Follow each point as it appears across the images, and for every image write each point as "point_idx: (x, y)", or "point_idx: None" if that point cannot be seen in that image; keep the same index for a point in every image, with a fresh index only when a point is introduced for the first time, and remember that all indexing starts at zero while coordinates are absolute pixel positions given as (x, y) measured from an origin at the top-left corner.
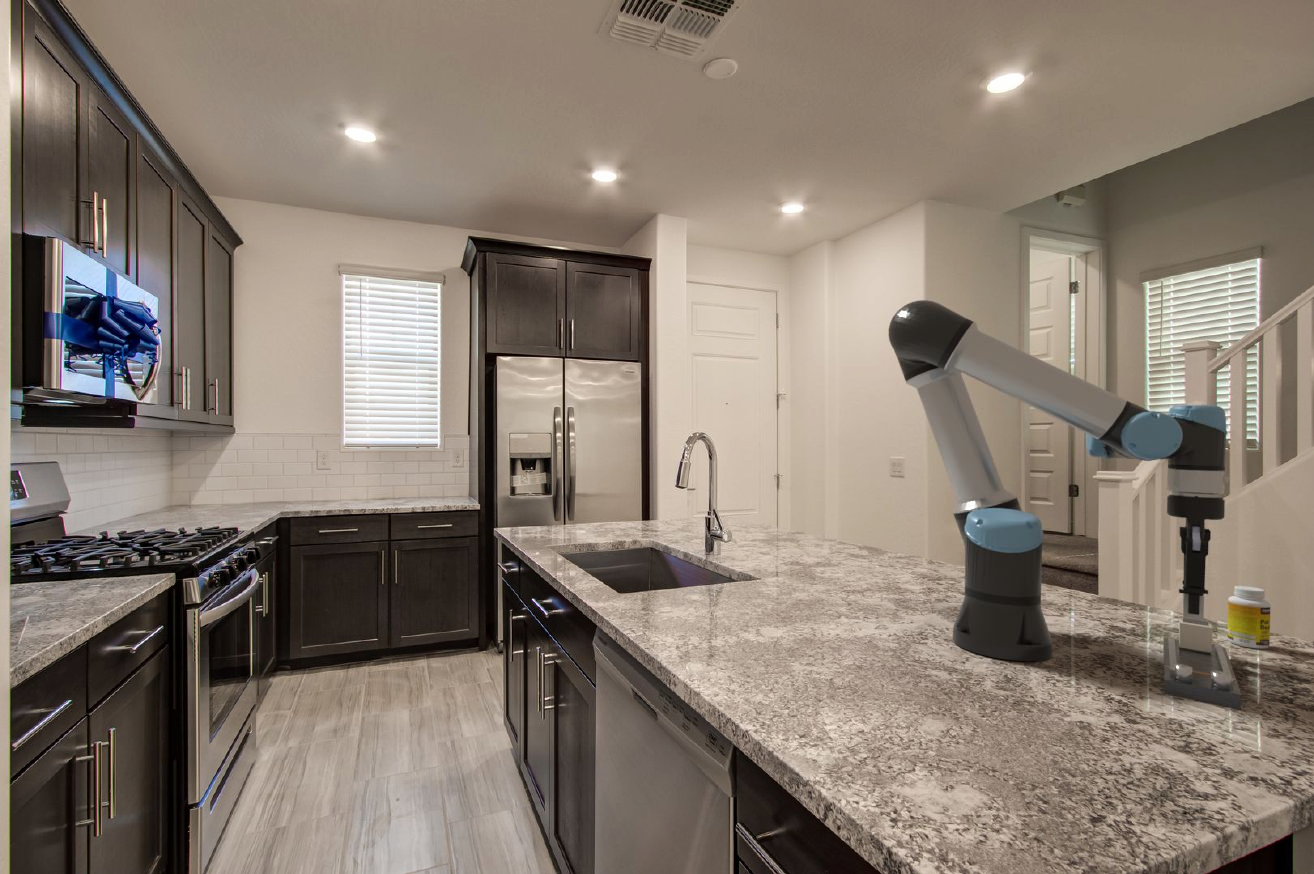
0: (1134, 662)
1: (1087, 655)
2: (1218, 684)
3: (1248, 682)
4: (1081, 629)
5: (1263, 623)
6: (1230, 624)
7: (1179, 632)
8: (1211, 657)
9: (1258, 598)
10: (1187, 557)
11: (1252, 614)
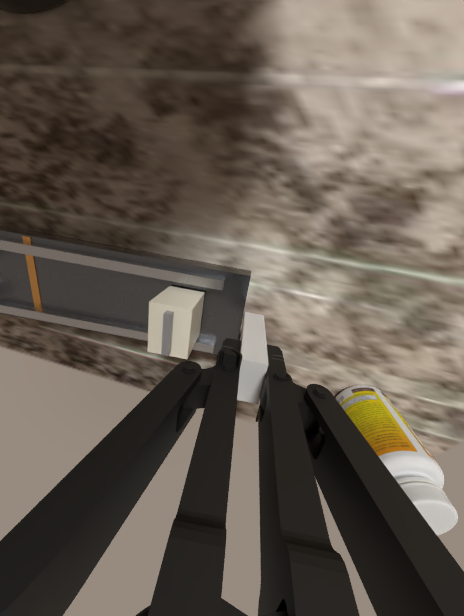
0: (115, 202)
1: (97, 108)
2: None
3: (128, 342)
4: (340, 109)
5: None
6: (371, 408)
7: (173, 296)
8: (147, 321)
9: None
10: (54, 492)
11: None
